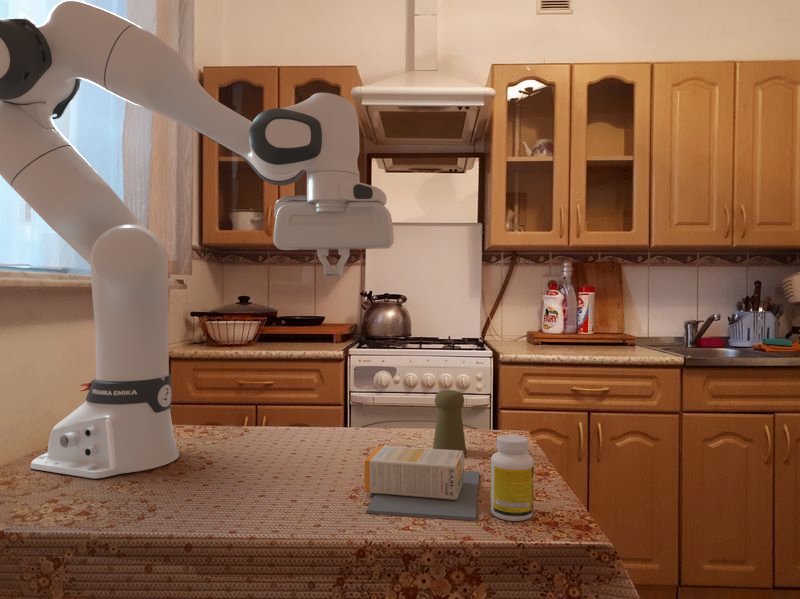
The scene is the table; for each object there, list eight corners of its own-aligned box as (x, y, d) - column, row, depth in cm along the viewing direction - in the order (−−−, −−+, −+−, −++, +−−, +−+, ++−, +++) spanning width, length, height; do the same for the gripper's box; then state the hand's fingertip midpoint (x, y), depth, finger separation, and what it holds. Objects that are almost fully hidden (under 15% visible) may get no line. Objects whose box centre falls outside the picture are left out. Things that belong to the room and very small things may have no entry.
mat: (366, 513, 71) (366, 510, 71) (391, 469, 89) (391, 466, 89) (475, 520, 69) (475, 517, 69) (479, 474, 87) (479, 471, 87)
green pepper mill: (473, 453, 98) (473, 391, 97) (446, 459, 94) (447, 395, 94) (451, 445, 103) (451, 386, 102) (425, 451, 99) (425, 389, 99)
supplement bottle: (540, 521, 69) (540, 442, 69) (498, 524, 68) (499, 444, 68) (523, 504, 74) (524, 431, 74) (484, 507, 73) (485, 433, 73)
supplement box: (363, 494, 77) (457, 502, 74) (363, 459, 77) (457, 466, 74) (379, 475, 85) (465, 482, 82) (379, 444, 85) (465, 449, 82)
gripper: (267, 192, 92) (267, 276, 92) (388, 188, 88) (388, 275, 88) (281, 198, 98) (281, 277, 98) (395, 195, 95) (395, 276, 95)
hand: (333, 276), depth 93 cm, fingers closed
